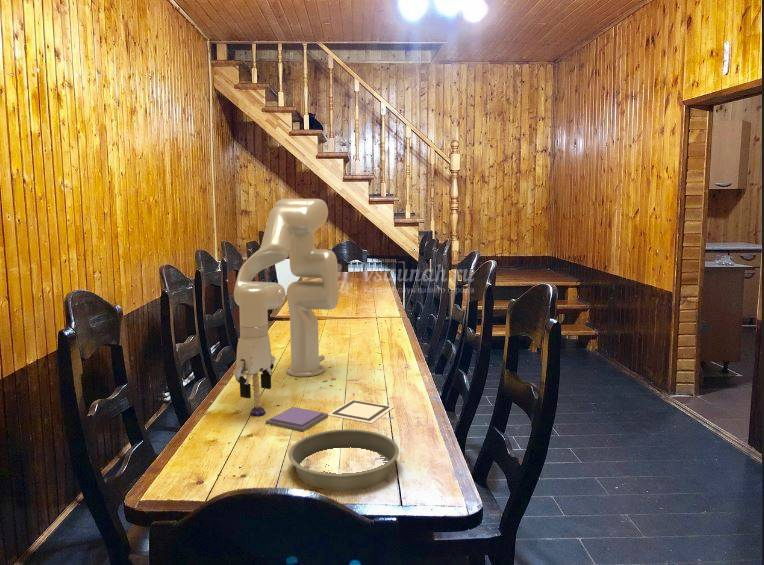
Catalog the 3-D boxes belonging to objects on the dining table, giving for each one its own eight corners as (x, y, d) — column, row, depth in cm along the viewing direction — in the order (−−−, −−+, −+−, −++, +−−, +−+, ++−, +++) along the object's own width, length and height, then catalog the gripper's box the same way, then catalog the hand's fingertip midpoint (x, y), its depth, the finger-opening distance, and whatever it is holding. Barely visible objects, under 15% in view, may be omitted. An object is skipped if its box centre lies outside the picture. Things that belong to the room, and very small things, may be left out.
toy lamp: (248, 417, 167) (246, 358, 165) (247, 411, 172) (245, 354, 169) (266, 415, 169) (264, 357, 166) (264, 410, 173) (263, 352, 171)
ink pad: (292, 409, 173) (292, 405, 173) (328, 416, 168) (327, 411, 168) (265, 423, 163) (265, 418, 162) (303, 431, 157) (303, 426, 157)
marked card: (352, 400, 181) (352, 398, 181) (394, 407, 175) (394, 406, 175) (326, 415, 169) (326, 413, 169) (371, 423, 163) (371, 422, 163)
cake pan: (320, 440, 152) (320, 423, 152) (413, 455, 144) (413, 437, 143) (267, 483, 130) (266, 463, 129) (374, 504, 121) (374, 482, 120)
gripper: (263, 324, 176) (264, 382, 179) (221, 336, 161) (224, 400, 163) (284, 326, 173) (285, 386, 175) (244, 339, 157) (246, 404, 160)
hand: (256, 392), depth 169 cm, fingers open, 8 cm apart
